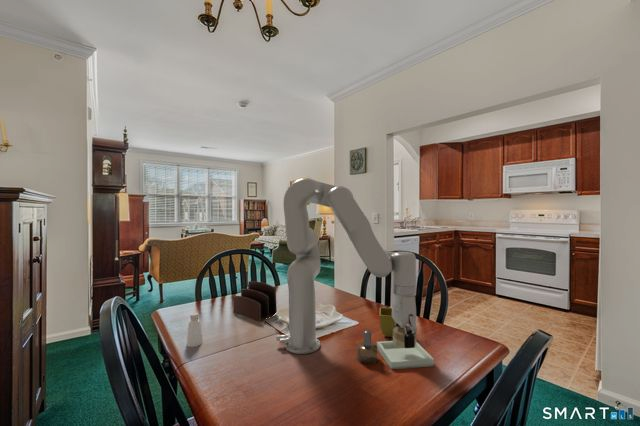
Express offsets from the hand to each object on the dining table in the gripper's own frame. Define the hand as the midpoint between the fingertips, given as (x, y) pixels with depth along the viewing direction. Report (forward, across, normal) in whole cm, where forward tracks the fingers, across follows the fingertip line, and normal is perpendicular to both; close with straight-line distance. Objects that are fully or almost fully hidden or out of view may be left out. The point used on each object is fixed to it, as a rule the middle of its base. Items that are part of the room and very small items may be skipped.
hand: (404, 341), depth 100 cm
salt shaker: (+4, -19, -72) cm, 75 cm away
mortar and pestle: (+5, 0, -13) cm, 14 cm away
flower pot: (+5, -17, +2) cm, 18 cm away
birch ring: (0, 0, 0) cm, 0 cm away
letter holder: (+5, -48, -53) cm, 71 cm away
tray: (+5, 0, 0) cm, 5 cm away
